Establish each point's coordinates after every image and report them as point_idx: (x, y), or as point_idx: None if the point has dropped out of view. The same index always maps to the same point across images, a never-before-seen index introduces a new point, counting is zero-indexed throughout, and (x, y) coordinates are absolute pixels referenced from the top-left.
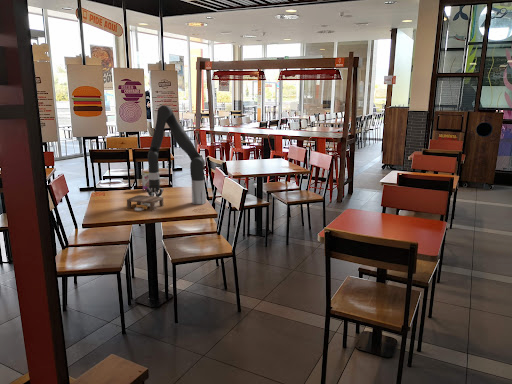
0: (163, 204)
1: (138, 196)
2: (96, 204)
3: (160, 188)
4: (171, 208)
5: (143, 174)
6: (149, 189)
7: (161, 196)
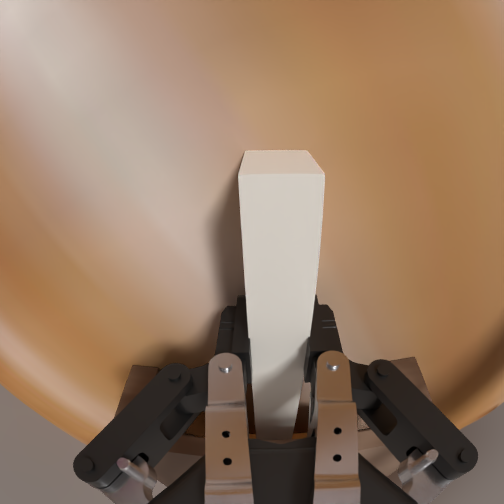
0: (418, 366)
1: (167, 467)
2: (11, 389)
3: (425, 502)
4: (472, 371)
5: None
6: (155, 482)
7: (320, 194)
